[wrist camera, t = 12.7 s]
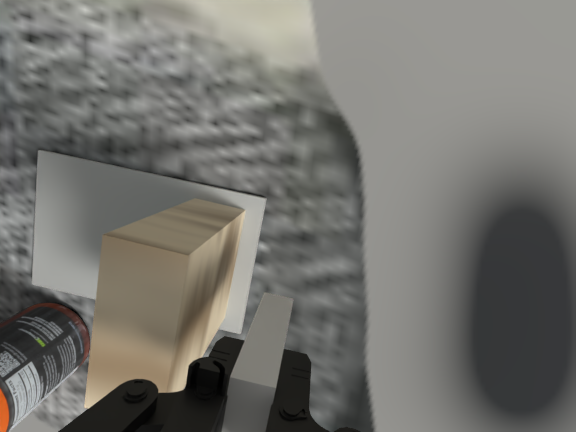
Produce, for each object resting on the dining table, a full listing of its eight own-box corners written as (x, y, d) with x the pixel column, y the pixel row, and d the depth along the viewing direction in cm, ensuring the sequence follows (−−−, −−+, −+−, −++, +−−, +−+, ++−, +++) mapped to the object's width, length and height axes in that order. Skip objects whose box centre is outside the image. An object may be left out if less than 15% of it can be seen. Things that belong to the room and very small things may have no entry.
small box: (194, 198, 23) (101, 234, 14) (245, 209, 23) (188, 255, 13) (177, 305, 25) (83, 407, 15) (224, 317, 25) (160, 428, 15)
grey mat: (42, 149, 24) (38, 149, 24) (266, 197, 23) (265, 198, 23) (36, 282, 26) (31, 284, 26) (241, 331, 25) (240, 334, 25)
